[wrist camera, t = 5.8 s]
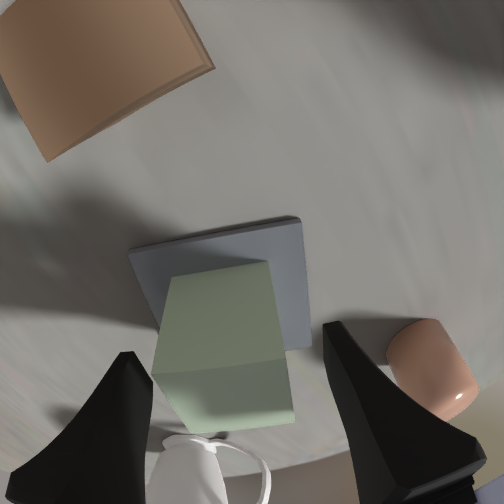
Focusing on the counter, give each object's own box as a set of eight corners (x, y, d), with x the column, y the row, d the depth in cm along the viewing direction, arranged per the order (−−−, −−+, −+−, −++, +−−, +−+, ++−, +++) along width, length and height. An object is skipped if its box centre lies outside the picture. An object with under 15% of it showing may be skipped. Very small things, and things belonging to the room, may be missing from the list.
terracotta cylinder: (448, 311, 16) (489, 374, 12) (435, 355, 18) (465, 413, 14) (389, 328, 16) (424, 400, 12) (381, 371, 18) (406, 436, 14)
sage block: (279, 330, 15) (295, 422, 11) (197, 342, 15) (191, 433, 11) (268, 260, 13) (286, 358, 9) (171, 277, 13) (150, 374, 9)
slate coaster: (299, 217, 13) (301, 222, 12) (310, 340, 16) (312, 346, 16) (129, 249, 13) (126, 254, 12) (179, 360, 16) (178, 365, 16)
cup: (128, 432, 21) (116, 523, 14) (242, 409, 19) (249, 524, 12) (180, 463, 25) (177, 540, 18) (281, 444, 23) (293, 533, 16)
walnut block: (166, -22, 8) (124, -77, 3) (215, 68, 10) (203, 63, 5) (70, 38, 8) (-17, 34, 4) (115, 123, 10) (47, 163, 6)
